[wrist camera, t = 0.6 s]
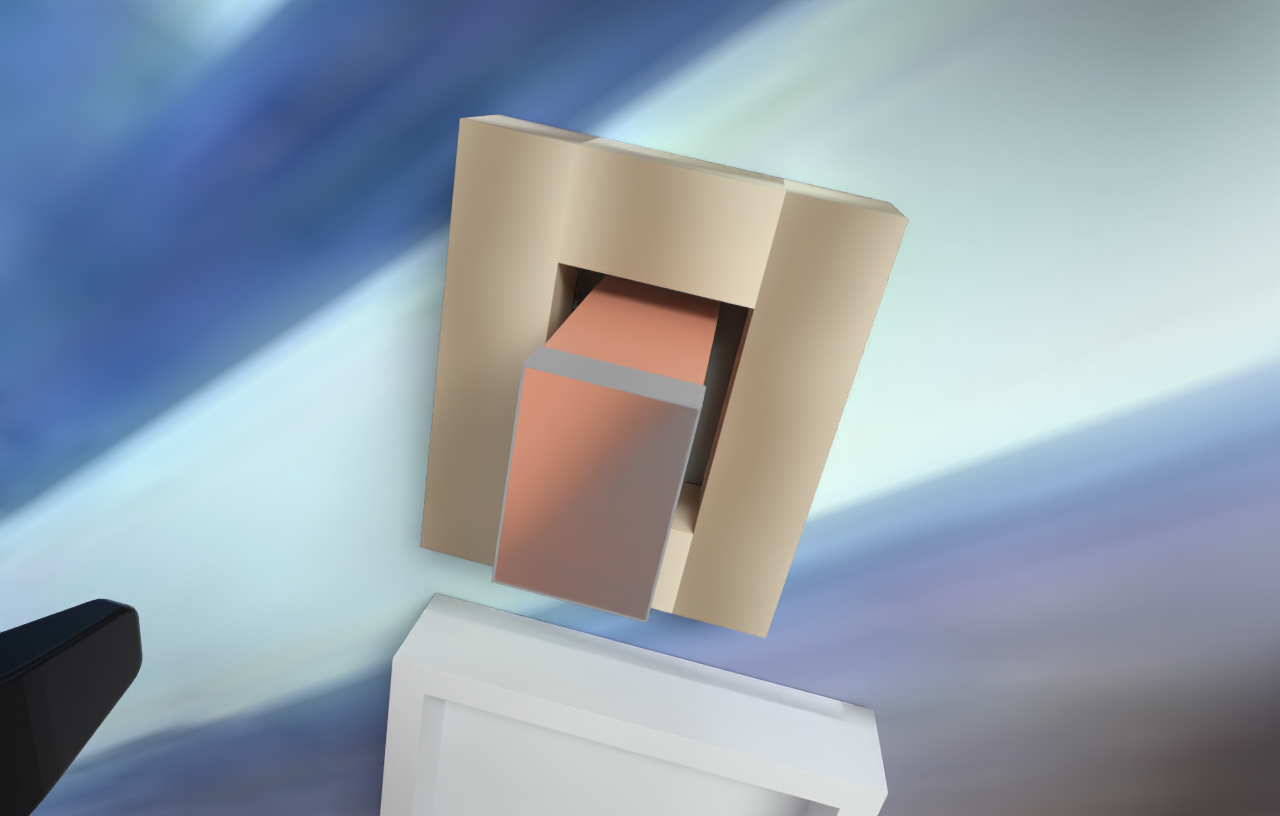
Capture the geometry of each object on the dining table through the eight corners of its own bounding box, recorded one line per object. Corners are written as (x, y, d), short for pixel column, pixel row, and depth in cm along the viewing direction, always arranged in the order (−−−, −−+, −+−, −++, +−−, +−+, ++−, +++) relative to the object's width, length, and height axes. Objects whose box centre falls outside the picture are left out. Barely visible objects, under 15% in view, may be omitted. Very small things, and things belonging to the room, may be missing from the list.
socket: (889, 202, 17) (908, 219, 15) (766, 581, 22) (766, 638, 20) (499, 114, 18) (460, 118, 16) (455, 501, 22) (420, 546, 20)
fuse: (723, 300, 19) (702, 407, 13) (683, 459, 21) (646, 622, 14) (603, 272, 19) (523, 363, 13) (575, 432, 21) (491, 581, 15)
